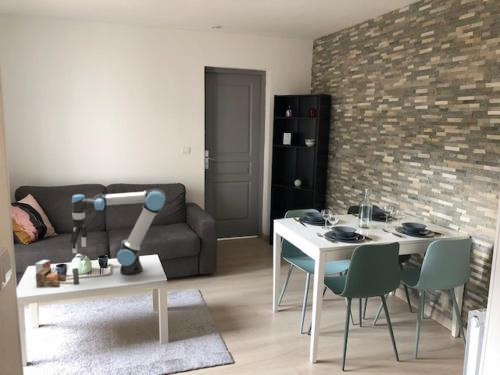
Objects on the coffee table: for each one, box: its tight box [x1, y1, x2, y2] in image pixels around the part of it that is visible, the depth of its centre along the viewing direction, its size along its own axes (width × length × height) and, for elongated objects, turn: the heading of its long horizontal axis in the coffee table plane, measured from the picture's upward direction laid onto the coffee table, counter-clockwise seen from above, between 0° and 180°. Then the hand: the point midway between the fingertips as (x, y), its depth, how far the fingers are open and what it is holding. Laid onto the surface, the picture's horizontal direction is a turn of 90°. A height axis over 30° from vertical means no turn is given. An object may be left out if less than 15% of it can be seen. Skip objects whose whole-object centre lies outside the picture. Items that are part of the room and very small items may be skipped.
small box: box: [34, 259, 52, 274], centre depth 282 cm, size 8×6×10 cm
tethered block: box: [45, 267, 80, 285], centre depth 269 cm, size 21×6×10 cm, turn 91°
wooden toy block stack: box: [35, 267, 67, 288], centre depth 269 cm, size 14×11×9 cm
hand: (79, 249), depth 272 cm, fingers open, 13 cm apart
